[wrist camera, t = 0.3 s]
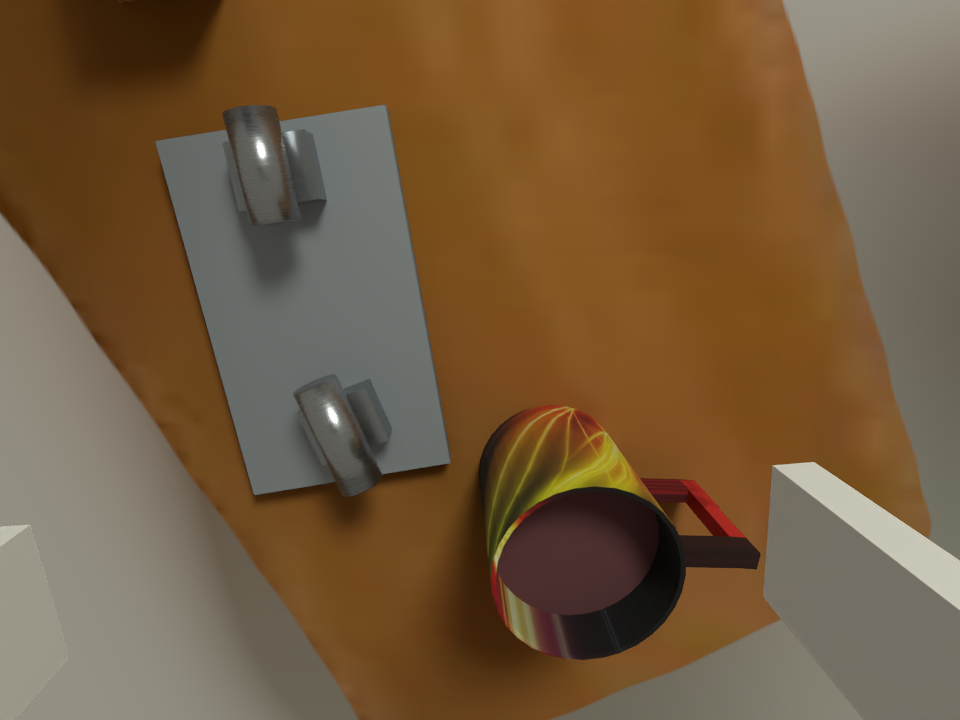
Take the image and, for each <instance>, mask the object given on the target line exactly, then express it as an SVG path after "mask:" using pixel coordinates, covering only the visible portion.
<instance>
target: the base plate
mask: <svg viewBox="0 0 960 720" xmlns="http://www.w3.org/2000/svg"><path fill="white" fill-rule="evenodd" d="M279 122H280V126H281V131H282V132H289V131H295V130H301V129H305V130H306V131H308V132H310V133H311V134H313V136H314V141H315V145H316V150H317V155H318V159H319V164H320V169H321V174H322V178H323V183H324V188H325V192H326V197H327V200H325V201H319V202H313V203H306V204H300V205H298V206H299V210H300V215H301V220H298V221H292V222H287V223H280V224H274V225H266V226H258V227H250V223H249V219H248V215H247V212H239V208H238V205H237V201H236V197H235V193H234V189H233V185H232V181H231V177H230V173H229V169H228V165H227V161H226V157H225V153H224V149H223V145H222V142H225V141H229V139H228V135H227V131H226V130H222V131H216V132H209V133H203V134H197V135H190V136H184V137H178V138H171V139H165V140H159V141H155V142H156V146H157V149H158V153H159V157H160V160H161V164H162V167H163V171H164V174H165V178H166V182H167V185H168V189H169V192H170V196H171V199H172V203H173V207H174V210H175V214H176V217H177V221H178V225H179V228H180V232H181V235H182V239H183V242H184V246H185V250H186V253H187V257H188V260H189V264H190V268H191V271H192V275H193V278H194V282H195V285H196V289H197V293H198V296H199V300H200V303H201V307H202V311H203V314H204V318H205V321H206V325H207V328H208V332H209V336H210V339H211V343H212V346H213V350H214V353H215V357H216V361H217V364H218V368H219V371H220V375H221V379H222V382H223V386H224V389H225V393H226V396H227V400H228V404H229V407H230V411H231V414H232V418H233V422H234V425H235V429H236V432H237V436H238V439H239V443H240V447H241V450H242V454H243V457H244V461H245V465H246V468H247V472H248V475H249V479H250V482H251V486H252V490H253V493H254V495H258V494H264V493H271V492H277V491H283V490H289V489H295V488H301V487H307V486H313V485H320V484H326V483H332V482H335V480H334V478H333V476H332V474H331V471H330V469H329V467H328V465H327V464H325V465H323V466H322V464H321V462H320V460H319V458H318V456H317V454H316V452H315V450H314V448H313V446H312V444H311V442H310V440H309V438H308V436H307V434H306V432H305V430H304V428H303V426H302V424H301V422H300V420H299V418H298V415H297V413H298V412H299V410H300V408H299V406H298V404H297V402H296V400H295V398H294V396H293V393H294V392H295V391H296V390H297V389H299V388H301V387H302V386H304V385H306V384H308V383H310V382H312V381H314V380H317V379H319V378H322V377H325V376H328V375H332V374H336V375H337V377H338V379H339V381H340V384H341V386H342V388H343V389H344V388H346V387H349V386H352V385H354V384H357V383H359V382H362V381H365V380H367V379H370V380H371V382H372V385H373V387H374V389H375V391H376V393H377V396H378V398H379V400H380V402H381V405H382V407H383V409H384V411H385V414H386V416H387V418H388V420H389V422H390V425H391V427H392V432H391V435H390V439H389V441H386V442H384V443H381V444H378V445H376V446H373V447H370V448H371V450H372V453H373V455H374V457H375V459H376V461H377V463H378V466H379V468H380V470H381V472H382V474H387V473H393V472H399V471H405V470H411V469H417V468H424V467H430V466H436V465H442V464H448V463H450V448H449V443H448V437H447V432H446V426H445V421H444V415H443V410H442V404H441V399H440V393H439V388H438V382H437V377H436V371H435V365H434V360H433V354H432V349H431V343H430V338H429V332H428V327H427V321H426V316H425V310H424V305H423V299H422V294H421V288H420V283H419V277H418V271H417V266H416V260H415V255H414V249H413V244H412V238H411V233H410V227H409V222H408V216H407V211H406V205H405V200H404V194H403V189H402V183H401V177H400V172H399V166H398V161H397V155H396V150H395V144H394V139H393V133H392V128H391V122H390V117H389V111H388V109H387V107H386V105H380V106H374V107H368V108H361V109H355V110H349V111H342V112H336V113H330V114H323V115H317V116H311V117H304V118H298V119H292V120H285V121H279Z"/></svg>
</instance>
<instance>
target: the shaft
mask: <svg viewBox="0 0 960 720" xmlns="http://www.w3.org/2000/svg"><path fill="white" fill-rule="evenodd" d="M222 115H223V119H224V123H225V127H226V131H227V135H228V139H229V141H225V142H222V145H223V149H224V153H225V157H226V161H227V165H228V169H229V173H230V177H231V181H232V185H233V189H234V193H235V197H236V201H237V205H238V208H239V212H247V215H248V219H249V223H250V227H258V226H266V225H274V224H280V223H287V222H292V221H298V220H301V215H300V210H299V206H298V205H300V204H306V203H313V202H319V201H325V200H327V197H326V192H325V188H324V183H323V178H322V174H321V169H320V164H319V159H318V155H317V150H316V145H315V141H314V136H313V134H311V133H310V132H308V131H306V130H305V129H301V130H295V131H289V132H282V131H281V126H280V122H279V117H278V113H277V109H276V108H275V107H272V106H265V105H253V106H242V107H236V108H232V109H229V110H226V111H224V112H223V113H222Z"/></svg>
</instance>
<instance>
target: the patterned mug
mask: <svg viewBox="0 0 960 720" xmlns="http://www.w3.org/2000/svg"><path fill="white" fill-rule="evenodd" d="M479 475H480V486H481V495H482V505H483V514H484V524H485V533H486V543H487V553H488V562H489V572H490V581H491V591H492V597H493V600H494V603H495V606H496V609H497V612H498V613H499V615H500V617H501V618H502V620H503V622H504V623H505V625H506V626H507V627H508V628H509V630H510V631H511V632H512V633H513V634H514V635H515V636H516V637H517V638H518V639H520V640H521V641H523V642H524V643H526V644H527V645H528V646H530V647H531V648H533V649H536V650H538V651H540V652H542V653H545V654H547V655H551V656H555V657H559V658H563V659H575V660H588V659H597V658H603V657H607V656H611V655H614V654H618V653H621V652H623V651H625V650H627V649H629V648H631V647H633V646H636V645H637V644H639V643H640V642H642V641H643V640H645V639H646V638H648V637H649V636H650V635H652V634H653V633H654V632H655V631H656V630H657V629H658V628H659V627H660V626H661V625H662V624H663V623H664V622H665V621H666V619H667V618H668V616H669V615H670V614H671V612H672V611H673V609H674V608H675V606H676V604H677V601H678V599H679V597H680V595H681V593H682V589H683V584H684V580H685V575H686V567H708V568H746V569H757V566H758V562H759V558H760V552H759V551H758V550H757V549H756V548H755V547H754V546H753V545H752V544H751V543H750V542H749V541H748V539H747V538H746V537H745V536H744V535H743V534H742V533H741V532H740V531H739V530H738V529H737V528H736V526H735V525H734V524H733V523H732V522H731V521H730V520H729V519H728V518H727V517H726V516H725V515H724V513H723V512H722V511H721V510H720V509H719V507H718V505H717V504H716V503H715V502H714V501H713V500H712V499H711V498H710V497H709V496H708V495H707V494H706V493H705V491H704V490H703V489H702V488H701V487H700V486H699V485H698V484H697V483H696V482H695V481H693V480H682V479H680V480H679V479H643V478H639V477H638V475H637V474H636V472H635V471H634V470H633V468H632V467H631V466H630V464H629V463H628V461H627V460H626V459H625V457H624V456H623V455H622V453H621V452H620V450H619V449H618V448H617V446H616V445H615V444H614V442H613V441H612V439H611V438H610V437H609V435H608V434H607V433H606V431H605V430H604V429H603V428H602V426H601V425H600V424H599V423H598V422H596V421H595V420H594V419H593V418H591V417H590V416H588V415H587V414H585V413H583V412H581V411H579V410H576V409H573V408H569V407H566V406H556V405H547V406H537V407H534V408H530V409H527V410H524V411H522V412H520V413H518V414H516V415H514V416H512V417H510V418H509V419H508V420H507V421H505V422H504V423H503V424H501V425H500V426H499V427H498V429H497V430H496V431H495V432H494V433H493V434H492V435H491V437H490V439H489V441H488V442H487V444H486V446H485V448H484V451H483V454H482V457H481V461H480V469H479ZM657 502H684V503H687V505H688V506H689V507H690V508H691V509H692V511H693V512H694V513H695V514H696V515H697V517H698V518H699V519H700V520H701V521H702V523H703V524H704V525H705V526H706V528H707V529H708V530H709V531H710V532H711V534H712V535H713V536H686V535H678V532H677V530H676V528H675V526H674V525H673V524H672V522H671V521H670V519H669V518H668V517H667V515H666V514H665V513H664V511H663V510H662V508H661V507H660V506H659V504H658V503H657Z"/></svg>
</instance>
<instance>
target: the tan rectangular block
mask: <svg viewBox="0 0 960 720" xmlns="http://www.w3.org/2000/svg"><path fill="white" fill-rule="evenodd" d="M116 1H118V2H119V3H126V2H133V1H139V0H116Z"/></svg>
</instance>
